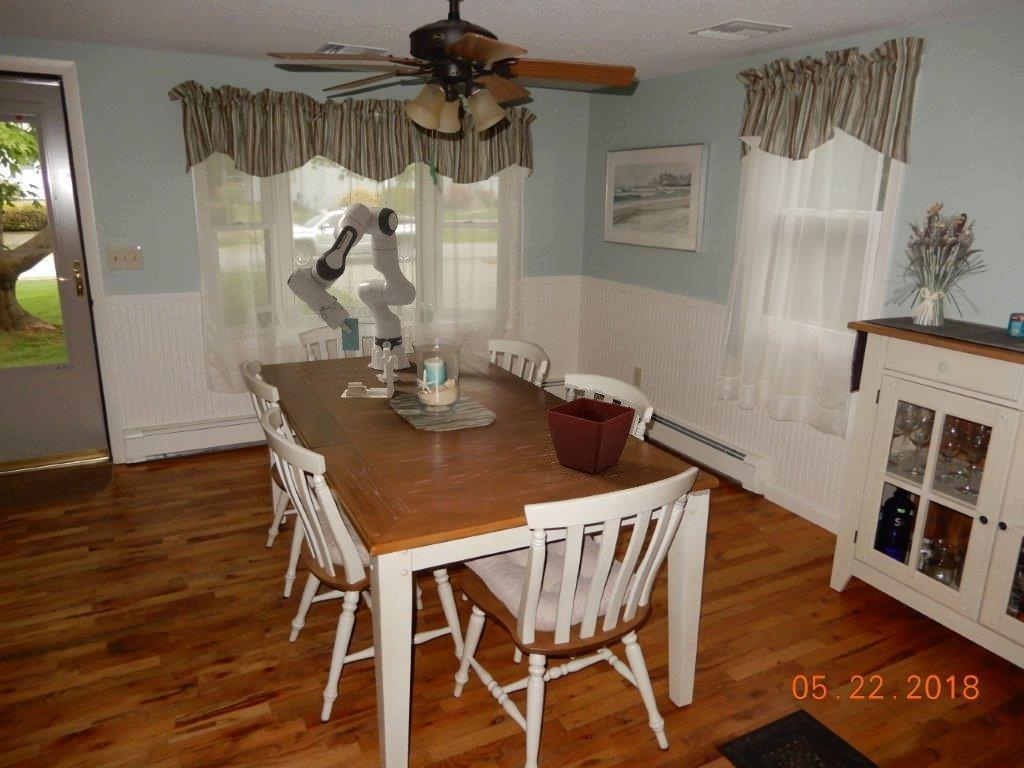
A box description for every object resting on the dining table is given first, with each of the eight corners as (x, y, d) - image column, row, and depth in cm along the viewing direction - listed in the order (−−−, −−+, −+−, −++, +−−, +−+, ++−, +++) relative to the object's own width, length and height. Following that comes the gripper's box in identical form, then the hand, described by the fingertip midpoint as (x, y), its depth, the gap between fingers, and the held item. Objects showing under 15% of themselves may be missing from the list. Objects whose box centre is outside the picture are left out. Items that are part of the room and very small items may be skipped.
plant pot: (580, 447, 224) (582, 396, 219) (633, 462, 212) (636, 408, 208) (543, 464, 209) (544, 409, 205) (598, 481, 198) (601, 423, 193)
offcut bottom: (349, 390, 277) (349, 385, 277) (366, 390, 277) (366, 386, 277) (345, 396, 269) (345, 391, 269) (363, 396, 270) (363, 391, 269)
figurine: (401, 384, 292) (401, 348, 288) (380, 387, 287) (378, 351, 283) (395, 380, 298) (394, 345, 294) (373, 383, 293) (372, 347, 289)
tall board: (343, 349, 271) (342, 318, 267) (359, 349, 271) (358, 318, 268) (342, 350, 269) (341, 318, 266) (358, 350, 269) (357, 319, 266)
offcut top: (348, 387, 275) (348, 382, 274) (362, 386, 276) (362, 382, 275) (347, 391, 269) (347, 387, 268) (362, 391, 270) (361, 386, 269)
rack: (346, 393, 279) (344, 355, 275) (394, 393, 280) (393, 355, 276) (340, 401, 268) (338, 362, 264) (391, 401, 269) (390, 362, 265)
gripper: (323, 303, 255) (352, 331, 258) (335, 295, 274) (362, 320, 277) (312, 316, 256) (340, 343, 259) (324, 307, 275) (350, 332, 278)
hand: (351, 331), depth 268 cm, fingers closed on tall board, 2 cm apart
